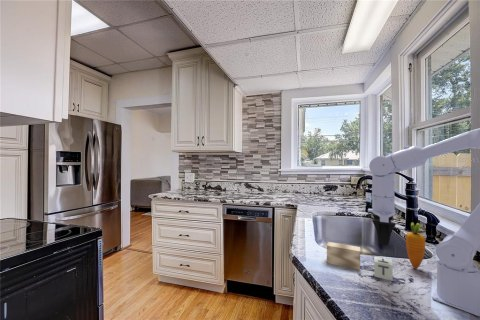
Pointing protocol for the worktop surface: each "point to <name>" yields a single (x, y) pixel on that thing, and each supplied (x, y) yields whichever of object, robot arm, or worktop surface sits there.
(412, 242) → the carrot
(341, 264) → the beech block
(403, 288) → the worktop surface
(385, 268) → the lettered cube
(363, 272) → the worktop surface
